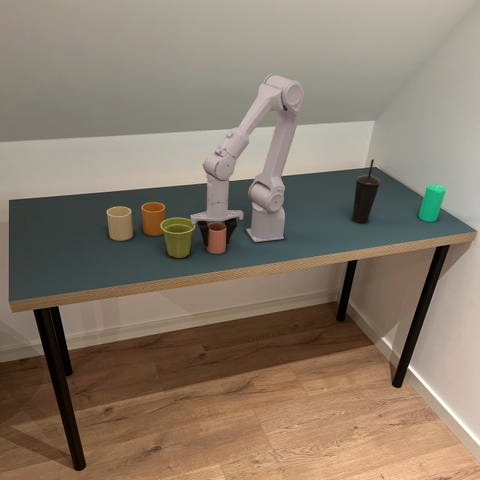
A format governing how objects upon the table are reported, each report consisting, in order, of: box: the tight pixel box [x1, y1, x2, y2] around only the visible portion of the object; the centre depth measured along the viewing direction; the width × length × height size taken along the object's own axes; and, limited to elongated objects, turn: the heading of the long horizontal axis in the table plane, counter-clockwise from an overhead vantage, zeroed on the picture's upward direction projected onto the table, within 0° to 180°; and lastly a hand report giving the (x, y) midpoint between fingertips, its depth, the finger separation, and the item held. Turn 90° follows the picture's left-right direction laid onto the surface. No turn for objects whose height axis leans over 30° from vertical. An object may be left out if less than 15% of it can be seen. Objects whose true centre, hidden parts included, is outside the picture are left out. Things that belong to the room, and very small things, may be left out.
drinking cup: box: [351, 158, 382, 224], centre depth 161 cm, size 8×8×20 cm
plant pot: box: [160, 217, 196, 259], centre depth 141 cm, size 9×9×9 cm
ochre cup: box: [140, 201, 167, 237], centre depth 151 cm, size 7×7×8 cm
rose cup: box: [205, 221, 227, 255], centre depth 145 cm, size 6×6×7 cm
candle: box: [418, 183, 447, 222], centre depth 168 cm, size 6×6×12 cm
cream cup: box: [106, 206, 134, 242], centre depth 148 cm, size 7×7×8 cm
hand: (216, 243), depth 146 cm, fingers closed on rose cup, 5 cm apart
